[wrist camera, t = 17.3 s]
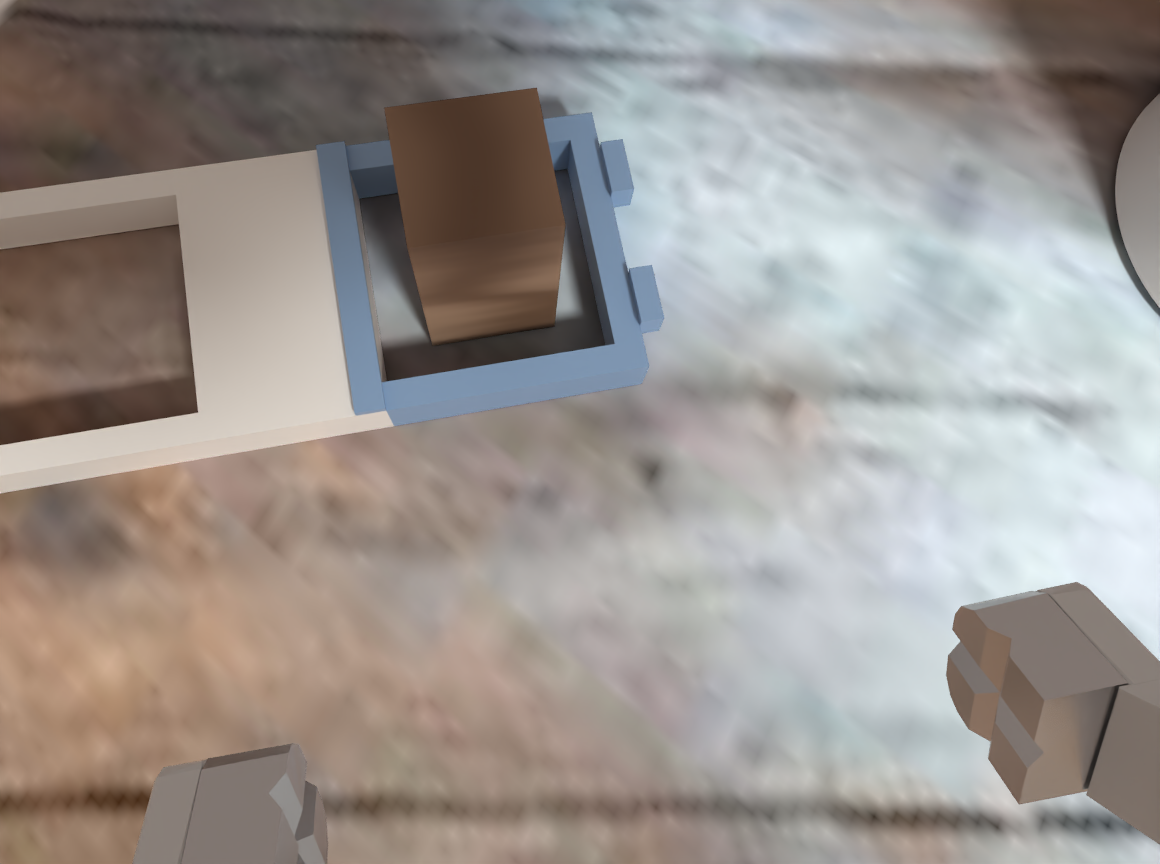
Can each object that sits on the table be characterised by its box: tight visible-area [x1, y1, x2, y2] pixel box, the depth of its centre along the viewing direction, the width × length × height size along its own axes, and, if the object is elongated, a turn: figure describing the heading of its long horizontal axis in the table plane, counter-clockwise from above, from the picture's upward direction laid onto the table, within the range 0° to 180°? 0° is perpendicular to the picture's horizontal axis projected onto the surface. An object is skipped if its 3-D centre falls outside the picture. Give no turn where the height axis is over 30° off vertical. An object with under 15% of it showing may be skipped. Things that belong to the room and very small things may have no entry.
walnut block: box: [384, 88, 565, 346], centre depth 30 cm, size 4×4×8 cm
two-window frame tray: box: [0, 112, 664, 493], centre depth 32 cm, size 25×10×2 cm, turn 101°
